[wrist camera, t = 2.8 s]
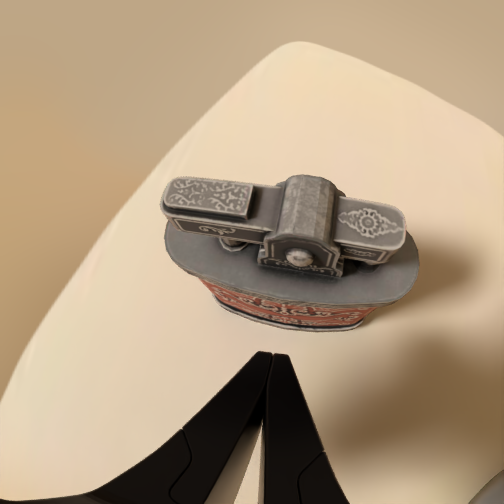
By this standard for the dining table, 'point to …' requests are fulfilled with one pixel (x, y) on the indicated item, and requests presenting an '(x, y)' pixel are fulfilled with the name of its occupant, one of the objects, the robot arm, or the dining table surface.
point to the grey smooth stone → (491, 492)
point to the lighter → (290, 250)
